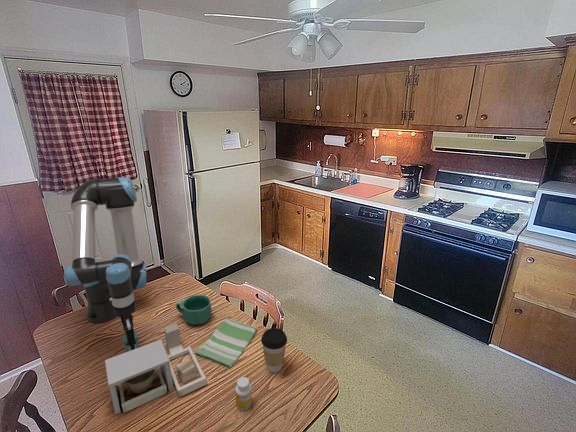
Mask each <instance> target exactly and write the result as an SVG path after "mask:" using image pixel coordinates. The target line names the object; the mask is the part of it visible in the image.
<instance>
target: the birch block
mask: <svg viewBox="0 0 576 432" xmlns="http://www.w3.org/2000/svg"><path fill="white" fill-rule="evenodd" d="M175 367H176V374H177V377H178V378H179V380H180V381H181V382H182V383H183V384H187V382H189V381H191V380H192V379H194V378H195V377H197V373H196V372H197V369H196V367H195V365H194V363H193V361H192V360H191V359H190V358H186V359H184V360H183V361H181V362H180V363H178V364H176V365H175Z"/></svg>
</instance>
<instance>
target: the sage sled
mask: <svg viewBox="0 0 576 432" xmlns="http://www.w3.org/2000/svg"><path fill="white" fill-rule="evenodd" d="M134 336H135V341H136V347H137V348H139V347H141V346H140V341H139V337H138V333H137V330H134ZM122 340H123V345H124V350H125V353H126V352H128V351H129V348H128V345H127V346H126V343H128V340H127V335H126V334H125V333H124V334H123V335H122ZM155 371H156V372H157V376H158V378H159V382H160V386H158V387H156V388H153V389H151V390H149V391H146V392H144V393H141V394H139V395H137V396H136V397H132V398H131V399H128V400H127V401H126V399H125V395H124V389H123V384H122V382H121V383H119V384H117V386H118V391H119V395H120V403H121V408H122V413H124V414H125V413H126V412H129V411H131V410H133V409H135V408H137V407H140V406H142V405H144V404H146V403H148V402H151V401H153V400H155V399H158V398H159V397H161V396H163V395H166V394H168V386H167V383H166V381H165V378H164V375H163V372H162V369H161V367H158V368H155Z"/></svg>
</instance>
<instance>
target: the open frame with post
mask: <svg viewBox="0 0 576 432" xmlns="http://www.w3.org/2000/svg"><path fill="white" fill-rule="evenodd" d="M164 336H165V343H166V344H165V345H166V347H167V349H168V352H169V355H168V354H167V356H168V358H169V362H170V369H171V376H172V383H174V384H173V386H175V390H176V393H177V395H178V398H181V397H184V396H185V395H188V394H189V393H192V392H193V391H195V390H199V388H203V387H204V386H206V385H208V381H207V379H208V378H207V375H205V374H204V372H203V370H202V367H201V365H200V364H199V361H198V359H197V358H196V356H195V354H194V352H193V349H192V348H191V346H190V345H189V346H186V348H183V345H182V342H181V341H182V339H181V332H180V327H179V326H178V323H173V324H170V325H168V326H165V327H164ZM186 354H189V356H190V358H191V359H190V360H191V362H192V363H193V364H194V365H195V370H196V372H197V373H198V375H199V378H196V379H195V380H193V381H191V382H189V383H185V384H183V385H182V386H180V384H179V381H178V378H177V377H176V373H175V371H174V368H173V366H172V364H171V360H174V359H176V358H179V357H181V356H183V355H186Z"/></svg>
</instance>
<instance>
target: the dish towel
mask: <svg viewBox="0 0 576 432" xmlns="http://www.w3.org/2000/svg"><path fill="white" fill-rule="evenodd" d="M257 329H258V328H257V327H256V326H252V325H249V324H246V323H243V322H240V321H238V320H234V319H230V318H228V317H227V318H225V319H224V320H223V321H222V322H221V323H220V324H219V326H218V327H217V328H216V329H215V330H214V332H213V333H212V334H211V335H210V336H209V337H208V338H207V340H206V341H205V342H204V343H203V344H202V345H201V346H199V347H198V348H196V349H195V351H194V353H195V354H196V356H199V357H202V358H204V359H207V360H210V361H213V362H216V363H218V364H220V365H221V366H223V367H226V368H227V369H231V368H232V367H233V365H234V364H235V363H236V362H237V360H238V359H239V358H240V356H241V355H242V354H243V352H244V351H245V349H246V348H247V347H248V345H249V344H250V343H251V342H252V339H253V338H254V335H255V334H256V332H257Z"/></svg>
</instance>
